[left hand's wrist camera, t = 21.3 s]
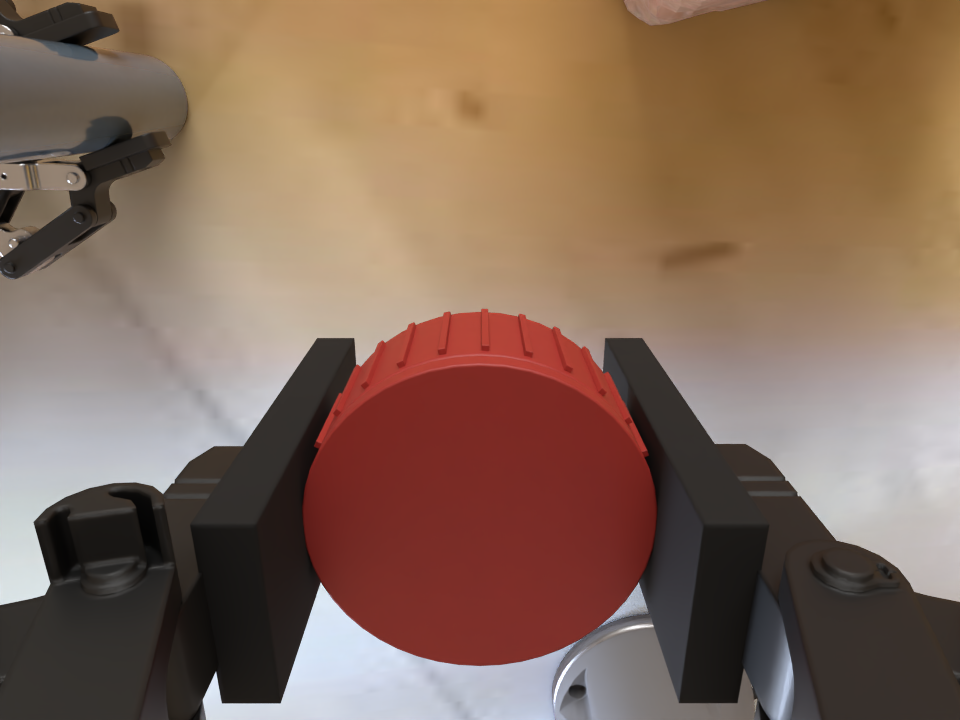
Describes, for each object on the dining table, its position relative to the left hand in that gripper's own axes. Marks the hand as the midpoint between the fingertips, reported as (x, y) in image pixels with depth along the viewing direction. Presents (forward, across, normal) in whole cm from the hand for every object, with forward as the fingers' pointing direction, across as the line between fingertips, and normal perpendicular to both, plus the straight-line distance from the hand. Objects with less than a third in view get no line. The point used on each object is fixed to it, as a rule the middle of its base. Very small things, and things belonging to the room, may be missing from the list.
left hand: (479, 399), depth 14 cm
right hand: (+22, +16, -7) cm, 28 cm away
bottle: (+28, +19, -6) cm, 35 cm away
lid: (-4, 0, 0) cm, 4 cm away
